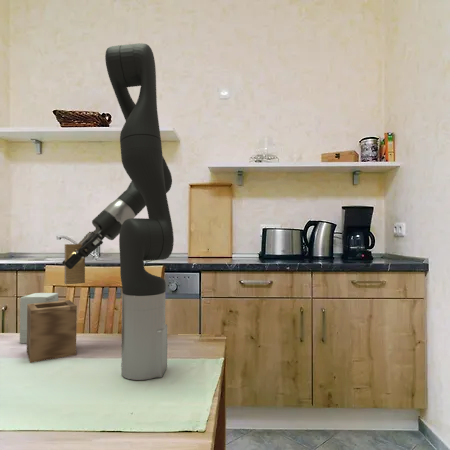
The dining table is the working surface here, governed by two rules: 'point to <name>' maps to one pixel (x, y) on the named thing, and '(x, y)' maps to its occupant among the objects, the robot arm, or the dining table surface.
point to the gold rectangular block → (78, 270)
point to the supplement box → (23, 309)
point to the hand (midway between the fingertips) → (66, 266)
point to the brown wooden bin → (51, 330)
